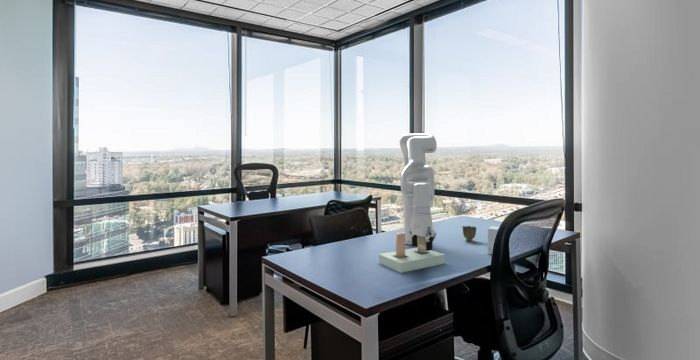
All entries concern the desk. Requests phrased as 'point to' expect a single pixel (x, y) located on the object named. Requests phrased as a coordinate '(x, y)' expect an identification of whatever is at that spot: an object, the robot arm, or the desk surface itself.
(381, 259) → the peg board
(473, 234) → the cup
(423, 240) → the ash peg
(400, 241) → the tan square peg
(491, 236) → the supplement box
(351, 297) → the desk surface
